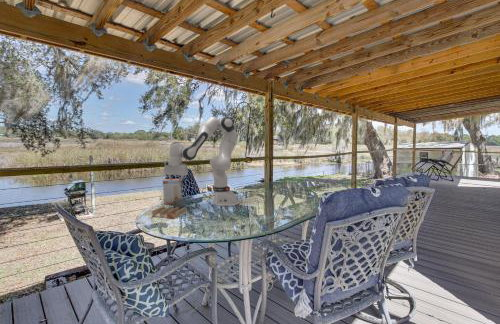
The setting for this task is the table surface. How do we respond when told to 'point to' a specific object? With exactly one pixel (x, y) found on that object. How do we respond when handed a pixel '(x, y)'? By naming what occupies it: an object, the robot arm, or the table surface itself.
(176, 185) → the cracker box
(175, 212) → the rack
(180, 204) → the blanking panel
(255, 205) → the table surface
